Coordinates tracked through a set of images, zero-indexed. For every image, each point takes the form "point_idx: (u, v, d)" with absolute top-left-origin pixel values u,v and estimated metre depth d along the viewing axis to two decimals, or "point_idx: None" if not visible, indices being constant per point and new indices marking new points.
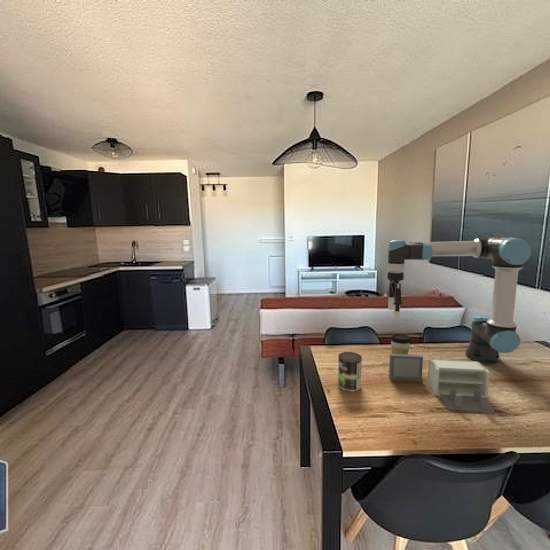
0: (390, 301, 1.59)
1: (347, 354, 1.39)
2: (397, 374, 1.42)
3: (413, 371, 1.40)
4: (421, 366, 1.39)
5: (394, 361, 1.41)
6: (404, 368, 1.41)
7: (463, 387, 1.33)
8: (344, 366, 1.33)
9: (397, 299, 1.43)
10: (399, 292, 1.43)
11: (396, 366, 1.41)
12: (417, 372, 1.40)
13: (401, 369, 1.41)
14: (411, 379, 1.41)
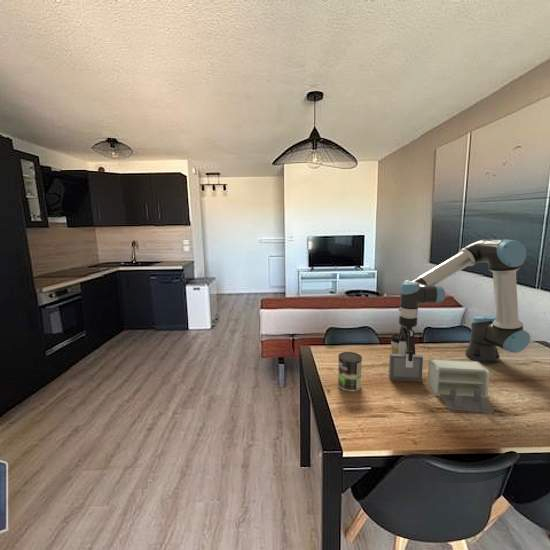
0: (401, 345, 1.47)
1: (347, 354, 1.39)
2: (397, 374, 1.42)
3: (413, 371, 1.40)
4: (421, 366, 1.39)
5: (394, 361, 1.41)
6: (404, 368, 1.41)
7: (463, 387, 1.33)
8: (344, 366, 1.33)
9: (410, 348, 1.31)
10: (413, 341, 1.31)
11: (396, 366, 1.41)
12: (418, 372, 1.40)
13: (401, 369, 1.41)
14: (411, 379, 1.41)
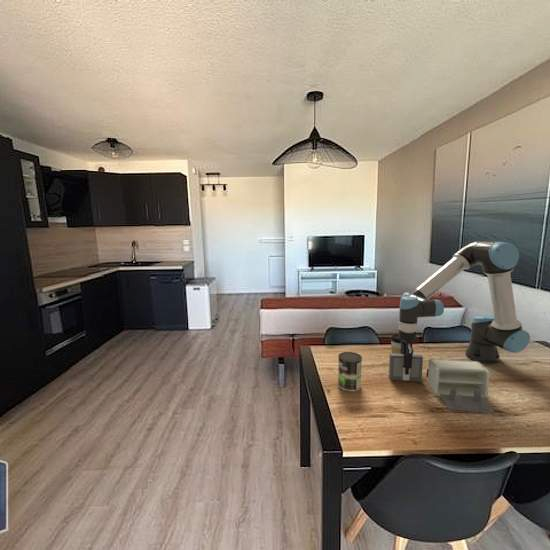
0: None
1: (347, 354, 1.39)
2: (397, 374, 1.42)
3: (413, 371, 1.40)
4: (421, 366, 1.39)
5: (393, 361, 1.41)
6: None
7: (463, 387, 1.33)
8: (344, 366, 1.33)
9: (407, 364, 1.36)
10: (410, 357, 1.35)
11: (396, 366, 1.41)
12: (417, 372, 1.40)
13: (401, 369, 1.41)
14: (411, 379, 1.41)
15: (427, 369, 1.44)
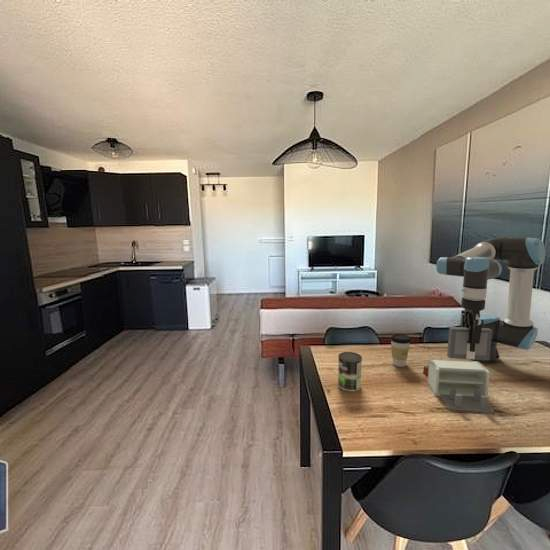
0: None
1: (347, 354, 1.39)
2: (459, 351, 1.18)
3: (479, 347, 1.16)
4: (489, 342, 1.15)
5: (455, 336, 1.17)
6: None
7: (463, 387, 1.33)
8: (344, 366, 1.33)
9: (475, 338, 1.12)
10: (479, 330, 1.11)
11: (458, 342, 1.17)
12: (485, 349, 1.16)
13: (464, 346, 1.17)
14: (477, 357, 1.17)
15: (424, 366, 1.47)
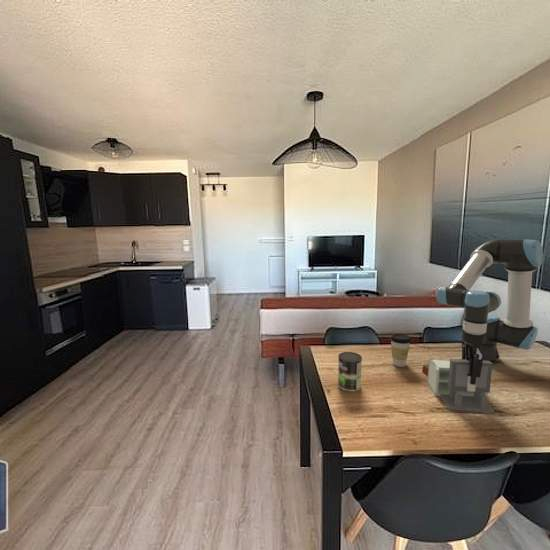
0: None
1: (347, 354, 1.39)
2: (460, 384, 1.19)
3: (479, 380, 1.17)
4: (489, 375, 1.17)
5: (456, 368, 1.18)
6: None
7: None
8: (344, 366, 1.33)
9: (475, 372, 1.13)
10: (480, 364, 1.12)
11: (459, 374, 1.18)
12: (485, 382, 1.17)
13: (464, 378, 1.18)
14: (477, 389, 1.18)
15: (423, 365, 1.49)
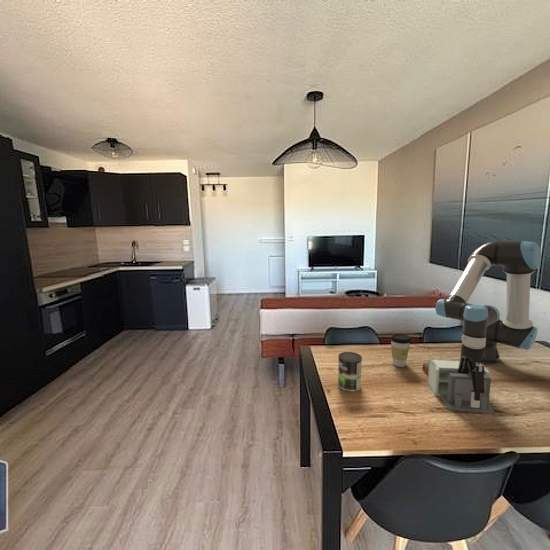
0: None
1: (347, 354, 1.39)
2: None
3: None
4: (488, 389, 1.18)
5: (455, 383, 1.19)
6: (468, 391, 1.19)
7: None
8: (344, 366, 1.33)
9: (479, 387, 1.11)
10: (482, 377, 1.11)
11: (458, 388, 1.19)
12: None
13: (463, 392, 1.19)
14: None
15: (423, 363, 1.50)
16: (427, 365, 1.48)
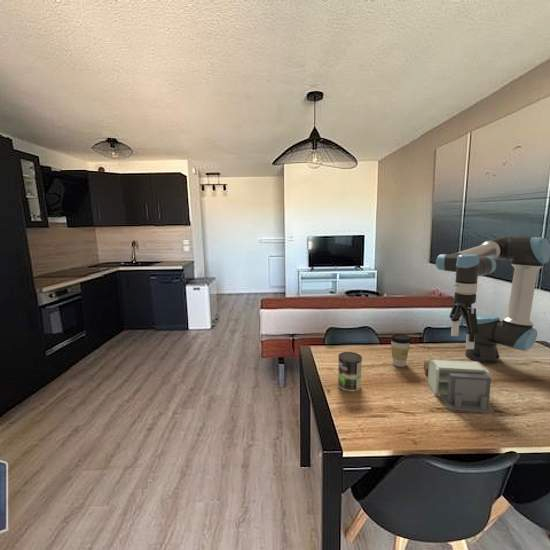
0: (454, 326, 1.33)
1: (347, 354, 1.39)
2: None
3: (478, 394, 1.18)
4: (488, 389, 1.18)
5: (455, 383, 1.19)
6: (468, 391, 1.19)
7: None
8: (344, 366, 1.33)
9: (473, 328, 1.16)
10: (474, 319, 1.17)
11: (458, 388, 1.19)
12: None
13: (463, 392, 1.19)
14: (476, 404, 1.19)
15: None
16: (427, 363, 1.50)
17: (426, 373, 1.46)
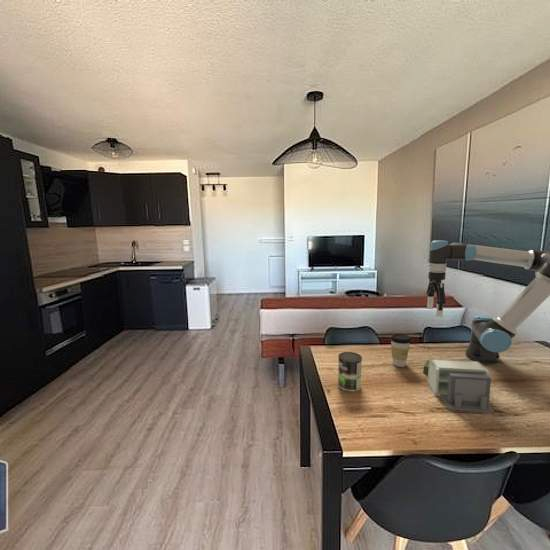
0: (429, 300, 1.61)
1: (347, 354, 1.39)
2: None
3: (478, 394, 1.18)
4: (488, 389, 1.18)
5: (455, 383, 1.19)
6: (468, 391, 1.19)
7: None
8: (344, 366, 1.33)
9: (441, 298, 1.45)
10: (442, 291, 1.46)
11: (458, 388, 1.19)
12: None
13: (463, 392, 1.19)
14: (476, 404, 1.19)
15: (427, 360, 1.54)
16: (428, 362, 1.51)
17: (424, 370, 1.48)
